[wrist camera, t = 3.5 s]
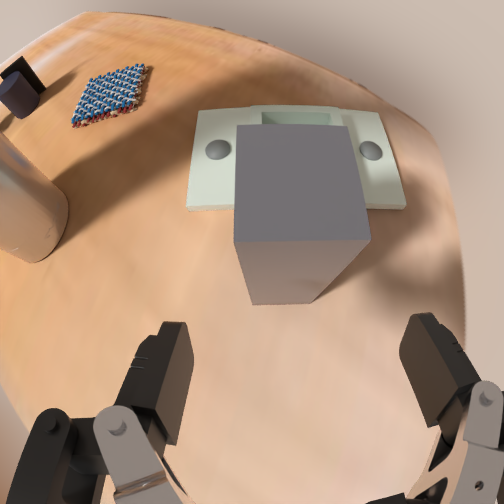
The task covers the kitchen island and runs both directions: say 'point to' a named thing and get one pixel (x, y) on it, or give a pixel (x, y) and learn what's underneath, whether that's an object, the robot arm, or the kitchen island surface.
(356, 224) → the tall grey pillar
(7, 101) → the speaker
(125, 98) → the woven mat
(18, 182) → the robot arm
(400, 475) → the kitchen island surface
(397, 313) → the kitchen island surface
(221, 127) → the bracket
